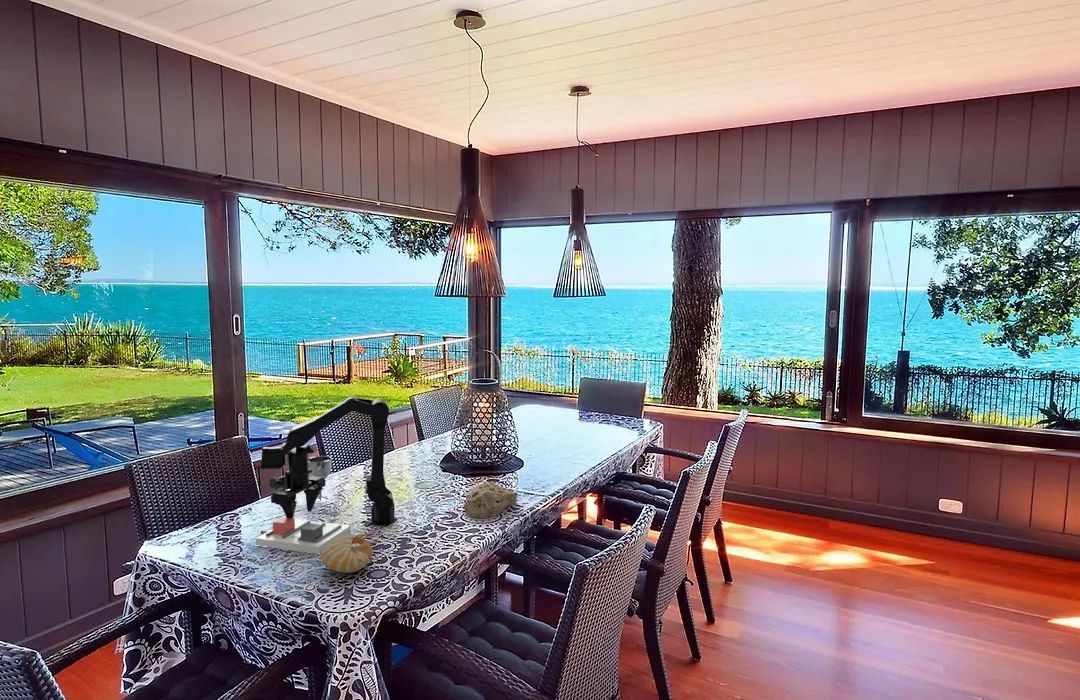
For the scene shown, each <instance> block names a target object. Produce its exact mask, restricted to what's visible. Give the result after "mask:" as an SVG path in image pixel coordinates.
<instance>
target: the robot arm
mask: <svg viewBox="0 0 1080 700" xmlns="http://www.w3.org/2000/svg"><path fill="white" fill-rule="evenodd" d="M353 412H356V413H358V414H363V415H365V416H370V419H371V427H372V435H371V436H372V439H371V440H372V443H371V471H370V473H369V475H366V474H365V481H366V482H365V487H364V489H365V494H367V497H368V499H369V501H371V502H373V503H372V505H371V506H372V507H371V510H370V511H371V512H370V513H371V515H370V516H371V518H370V519H371V521H369V524H370V525H374V526H375V525H376V526H386V527H388V526H390V525H391V524H393V523H394V522H396V521H397V520H398V517H397V516H396V515H395V514H396V513H395V512H396V511H395V501H394V497H393V493H392V491H391V490H390V489H389V488H387V486H386V481H385V474H384V463H385V461H384V460H385V459H384V457H385V430H386V426H387V422H388V418H389V414H390V409H389V405H388V403H387V402H386V400H384V399H382V398H381V399H380V398H377V399H374V400H373V399H369V398H359V397H355V396H349V397H347V398H346V399H345V400H344V401H342V402H340V403H339V404H336V405H335V406H334V407H332V408H330V409H328V410H327V411H325V412H323V413H322V414H320V415H319V416H317V417H315V418H313V419H311V420H308V421H305V422H302V423H299V424H297V425H294V426H292V427H291V428H290V429H289V431H288V433H287V437H286V440H285V442H283V443H282V446H272V447H271V446H263V447H262V448H261V451H262V452H261V459H260V469H261V471H269V470H270V471H272V470H283V468H284V466H287V458H288V470H287V471H285V472H284V475H282V476H277V475H276V476H273V477H270V478H269V481H268V484H269V487H270V489H274V491H275V492H273V493H272V494H271V495H270V503H271V504H275V505H279V506H280V507H281V509H282V510H283V513H284V515H285V518H293V519H294V518H295V517H294V516H295V512H296V511H295V510H296V509H297V508H296V507H297V503H298V501H297V494H298V495H299V494H300V493H302V492H303V493H304V495H305V502H306V509H307V512H308V513H310V512H312V510H313V509H314V506H315V502H316V500H317V498H318V497H319V494H320V492H321V493H322V490H323V489H324V487H325V486H326V479H324V478H323V477H316V476H310V474H309V473H311V472H312V469H309V464H308V459H309V454H314V453H315V451H316V450H315V447H313V446H312V445H311V444H310V443H308V442H310V441H311V440H312V439H313V438H314V436H316V435H317V434H319V432H320V431H322V430H323V429H325V428H327V427H329V426H330V425H332V424H334V423H336V422H337V421H338V420H340V419H342V418H343V417H345V416H347V415H349V414H350V413H353ZM307 443H308V444H307ZM305 445H306V446H305ZM281 488H284V489H281ZM278 489H279V490H278ZM276 490H277V491H276Z"/></svg>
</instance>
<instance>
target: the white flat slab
mask: <svg viewBox="0 0 1080 700" xmlns="http://www.w3.org/2000/svg"><path fill="white" fill-rule="evenodd" d="M294 519H295V529H293V530H291V531H290V532H288V533H286V534H284V535H281V534H274V533H273V528H272V529H269V530H260V535H259V536H257V537H256V538H255V546H256V545H260V546H267V547H273V548H280V549H286V550H285V551H287V550H294V551H300V552H299V553H301V552H307V553H306V554H309V553H316V554H319V553H321V552H322V551H323V550H324V549H325V548H326V547H327V546H328V545H329V544H330V543H331V542H332V541H333V540H335V539H337V538H339V537H342V536H346V535H348V534H349V535H350V534H352V528H351V526H352V525H348V524H340V523H333V522H324V521H323V522H322V521H315V520H308V519H300V518H294ZM309 523H311V524H319V525H322V526H323V535H322V536H321V537H319V538H318V539H316V540H315V542H310V541H303V540H301V528H302V527H304V526H306V525H307V524H309ZM261 533H263V534H261ZM273 548H272V549H273ZM280 549H279V550H280ZM294 551H293V552H294ZM316 554H315V555H316ZM319 555H320V554H319Z"/></svg>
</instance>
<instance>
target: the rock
mask: <svg viewBox="0 0 1080 700" xmlns="http://www.w3.org/2000/svg"><path fill="white" fill-rule="evenodd" d="M465 498H466V500H465V503H464V504H463V506H462V507H463V509H464V512H465V513H466V515H467V516H468V517H469V518H475V517H477V518H476V519H485V517H488V516H490V517H495V516H497V515H498V514H500V513H502V511H504V510H505V509H506V508H508V507H511V506H512V505H515V504H516V501H517V499H518V492H517V491H514V490H512V489H508V488H506V487H503V486H501V485H497V484H495V482H483V483H481V484H480V483H479V484H477V486H472V487H470V490H469V491H468V492H467V493H466V495H465Z"/></svg>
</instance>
